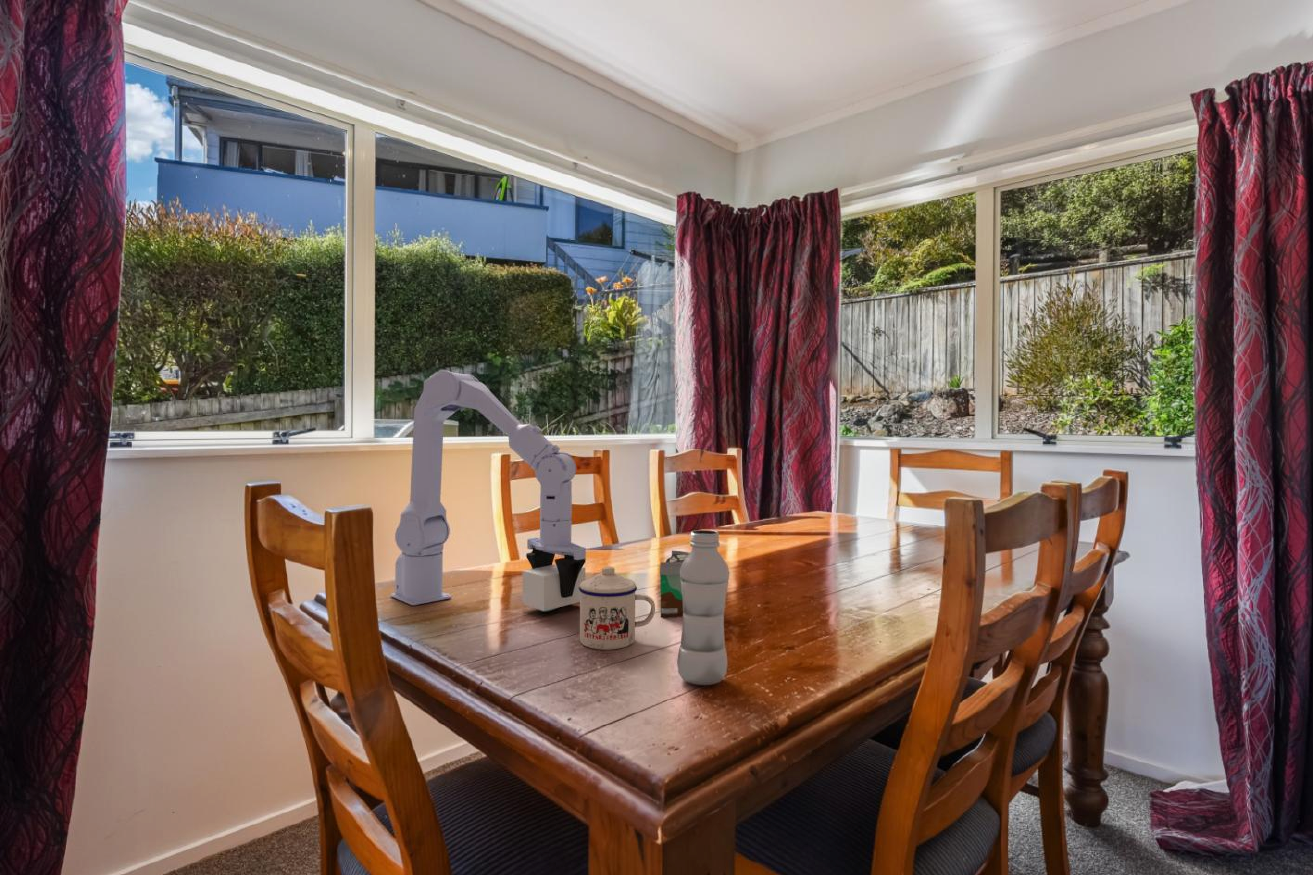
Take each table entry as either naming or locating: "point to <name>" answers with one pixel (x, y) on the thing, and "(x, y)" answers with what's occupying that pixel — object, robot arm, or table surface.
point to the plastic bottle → (703, 611)
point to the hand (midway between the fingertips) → (555, 593)
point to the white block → (547, 588)
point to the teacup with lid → (609, 611)
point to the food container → (672, 585)
